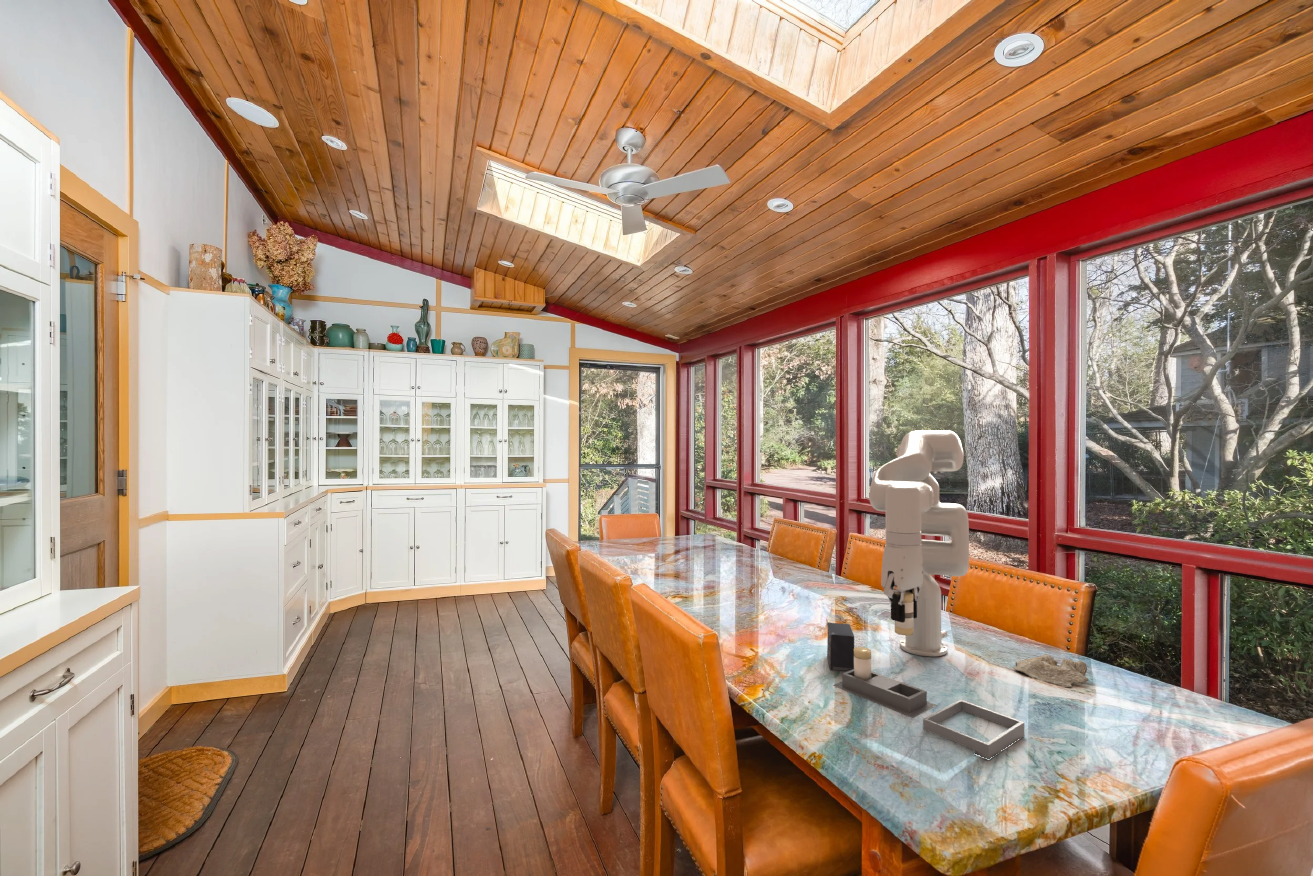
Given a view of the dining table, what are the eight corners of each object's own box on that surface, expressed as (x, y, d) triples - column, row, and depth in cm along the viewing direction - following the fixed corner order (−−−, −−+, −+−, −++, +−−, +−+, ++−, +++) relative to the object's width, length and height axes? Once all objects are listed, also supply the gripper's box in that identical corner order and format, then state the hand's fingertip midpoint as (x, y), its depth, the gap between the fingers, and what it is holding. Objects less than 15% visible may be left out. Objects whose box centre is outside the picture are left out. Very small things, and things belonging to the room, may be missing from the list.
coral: (1008, 657, 167) (1008, 639, 167) (1077, 666, 160) (1077, 648, 160) (1015, 682, 151) (1015, 662, 150) (1092, 693, 144) (1092, 672, 144)
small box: (855, 676, 154) (855, 635, 154) (829, 674, 155) (829, 634, 155) (850, 661, 165) (850, 623, 164) (826, 659, 166) (826, 621, 166)
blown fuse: (901, 628, 139) (900, 590, 139) (917, 633, 136) (917, 593, 136) (890, 632, 137) (890, 593, 137) (907, 636, 133) (906, 596, 133)
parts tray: (960, 712, 133) (960, 699, 133) (1024, 736, 123) (1024, 722, 123) (923, 733, 125) (923, 718, 125) (988, 761, 114) (988, 745, 114)
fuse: (860, 682, 148) (860, 646, 148) (874, 687, 145) (874, 650, 145) (850, 686, 146) (850, 649, 146) (864, 691, 142) (864, 654, 142)
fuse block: (857, 679, 152) (857, 663, 152) (937, 709, 135) (937, 692, 135) (832, 689, 146) (832, 673, 146) (912, 722, 129) (912, 704, 129)
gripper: (908, 532, 144) (909, 608, 144) (866, 541, 134) (867, 622, 134) (938, 537, 138) (939, 616, 138) (897, 546, 128) (897, 630, 128)
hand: (903, 618), depth 136 cm, fingers closed on blown fuse, 4 cm apart
